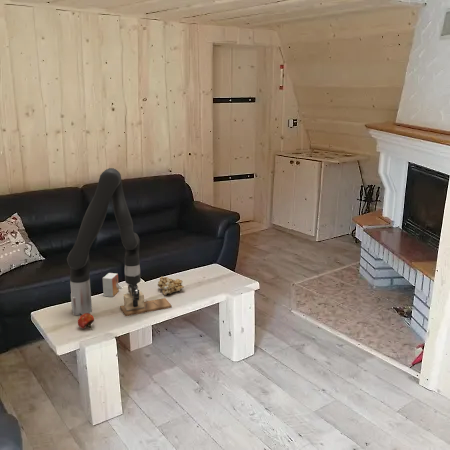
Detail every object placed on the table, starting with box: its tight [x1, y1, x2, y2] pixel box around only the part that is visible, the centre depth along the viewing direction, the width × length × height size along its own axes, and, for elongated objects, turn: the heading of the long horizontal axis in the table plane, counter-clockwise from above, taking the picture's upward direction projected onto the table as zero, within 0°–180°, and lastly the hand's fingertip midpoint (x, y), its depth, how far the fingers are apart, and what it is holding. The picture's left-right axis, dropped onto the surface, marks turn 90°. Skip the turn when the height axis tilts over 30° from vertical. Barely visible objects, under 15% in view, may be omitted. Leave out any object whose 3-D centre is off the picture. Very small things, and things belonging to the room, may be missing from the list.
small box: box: [102, 272, 120, 298], centre depth 262 cm, size 8×6×10 cm
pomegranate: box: [77, 313, 95, 330], centre depth 225 cm, size 7×7×10 cm
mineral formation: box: [157, 276, 185, 296], centre depth 267 cm, size 8×13×15 cm
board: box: [119, 297, 172, 317], centre depth 246 cm, size 24×10×1 cm, turn 115°
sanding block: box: [123, 290, 145, 311], centre depth 243 cm, size 9×5×7 cm, turn 115°
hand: (134, 304), depth 243 cm, fingers closed on sanding block, 5 cm apart
